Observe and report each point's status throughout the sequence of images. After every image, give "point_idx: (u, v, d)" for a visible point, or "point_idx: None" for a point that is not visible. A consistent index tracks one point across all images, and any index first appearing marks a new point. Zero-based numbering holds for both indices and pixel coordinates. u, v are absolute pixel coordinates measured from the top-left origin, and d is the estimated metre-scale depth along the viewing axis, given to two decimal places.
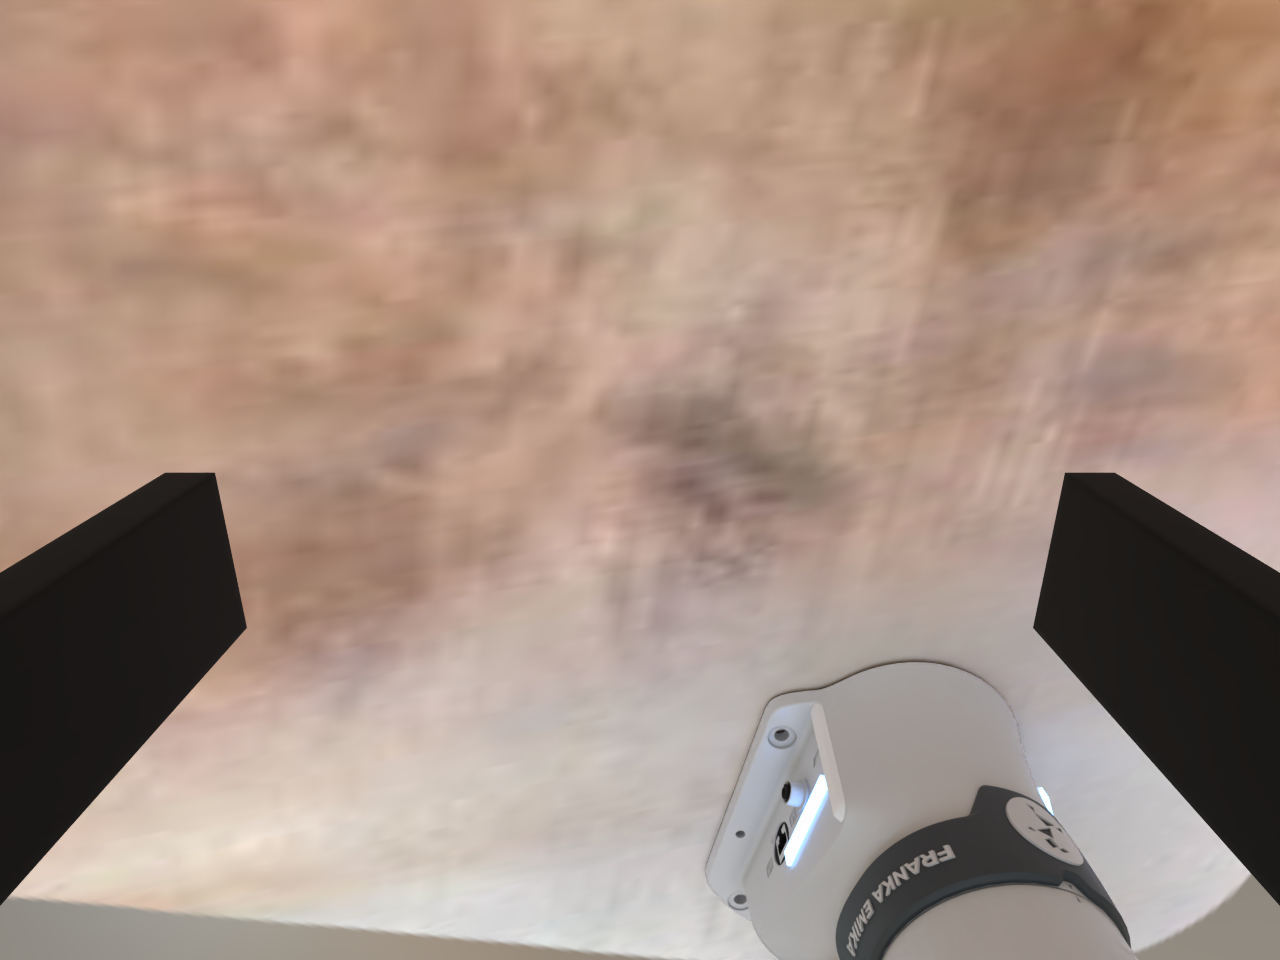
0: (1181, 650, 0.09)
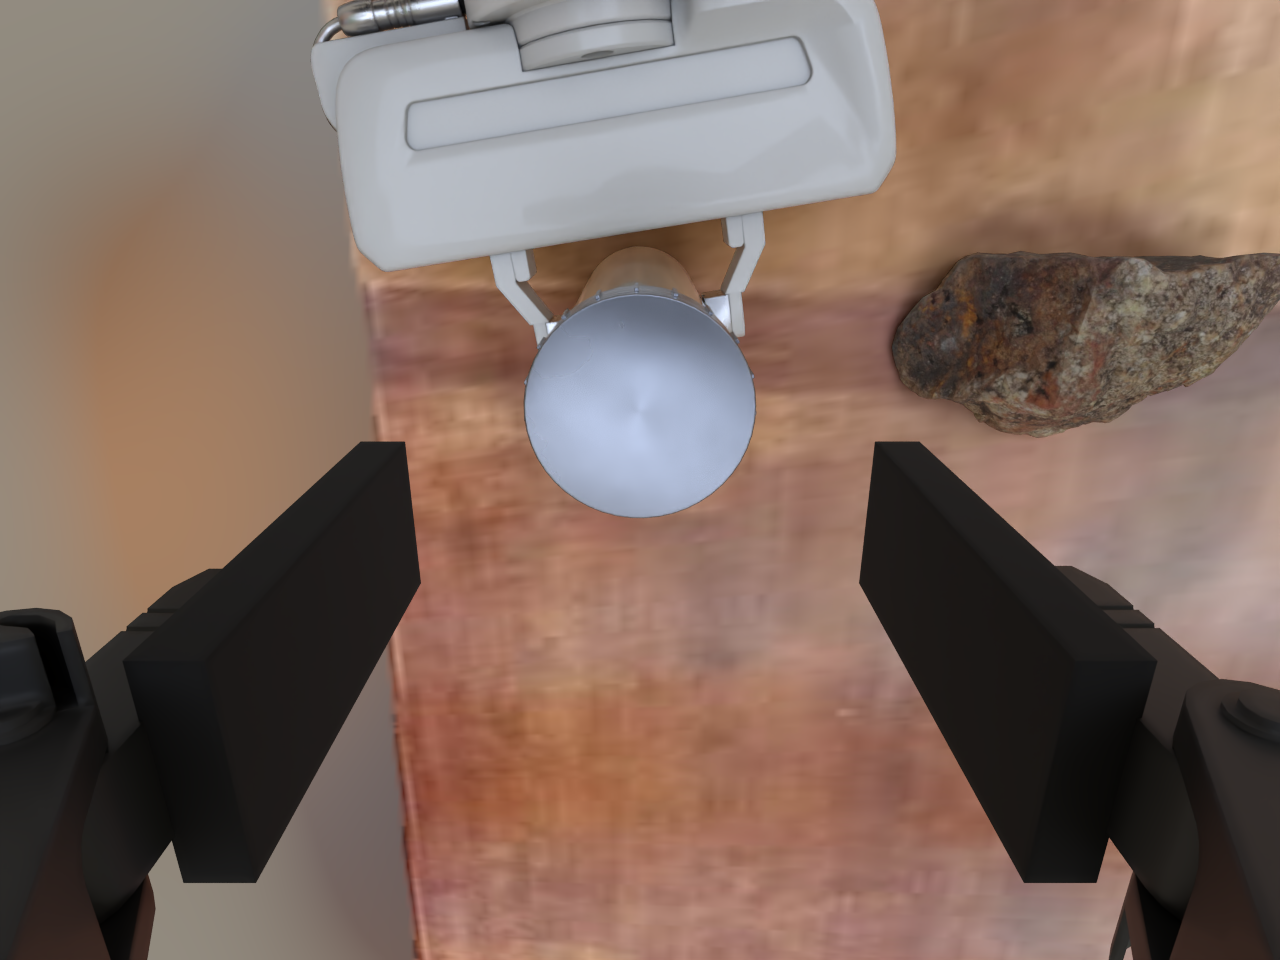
0: (930, 588, 0.11)
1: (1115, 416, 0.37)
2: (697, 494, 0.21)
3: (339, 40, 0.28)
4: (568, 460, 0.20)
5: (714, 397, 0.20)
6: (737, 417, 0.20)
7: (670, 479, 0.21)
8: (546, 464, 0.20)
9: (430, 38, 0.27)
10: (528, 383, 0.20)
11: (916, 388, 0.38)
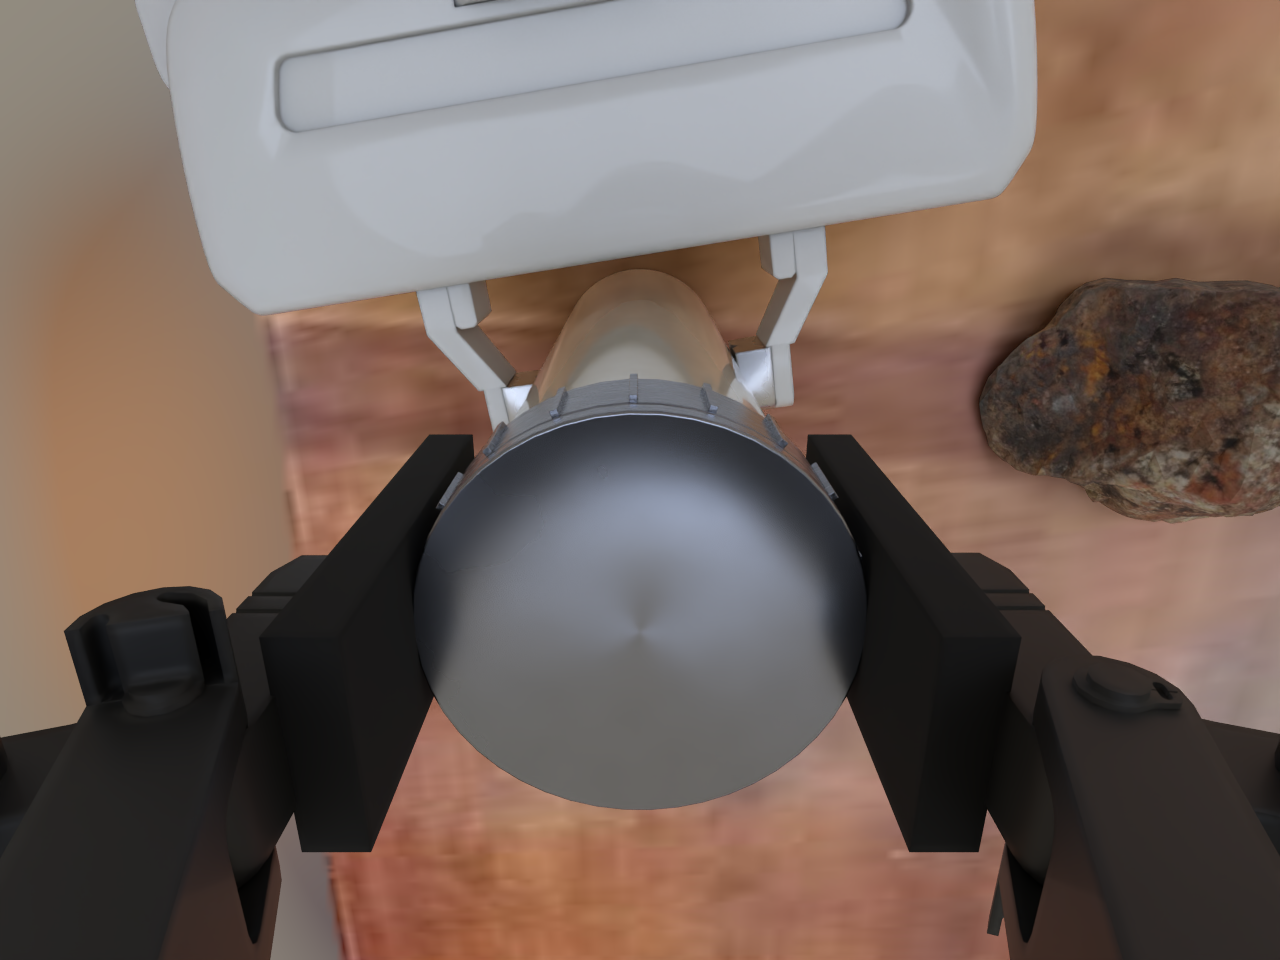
0: None
1: None
2: (749, 771, 0.11)
3: None
4: (503, 715, 0.11)
5: (787, 605, 0.10)
6: (831, 641, 0.10)
7: (698, 747, 0.11)
8: (461, 723, 0.11)
9: None
10: (417, 581, 0.10)
11: (1013, 459, 0.28)
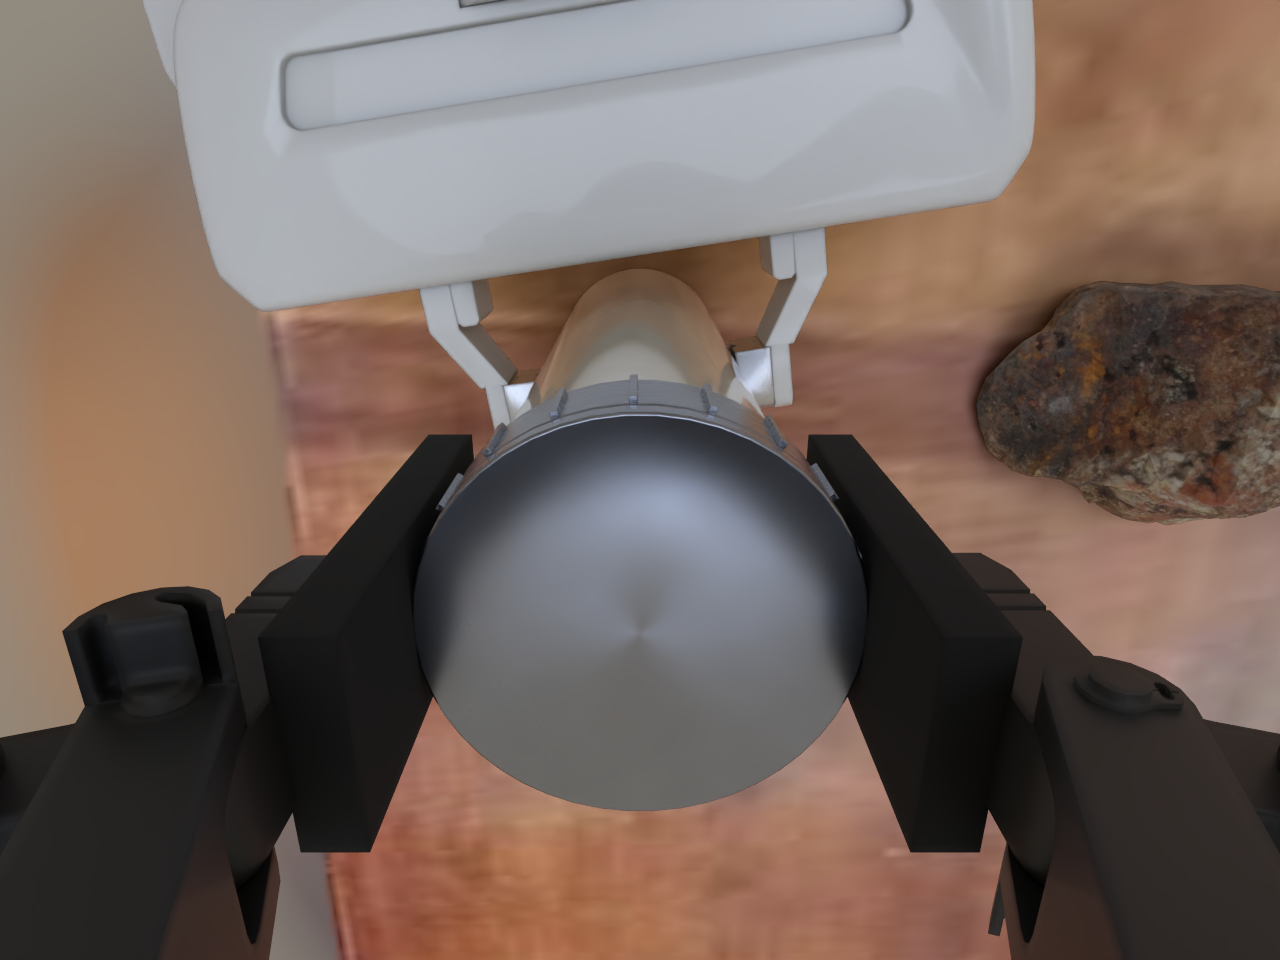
0: None
1: None
2: (845, 568, 0.10)
3: None
4: (698, 765, 0.11)
5: (647, 495, 0.09)
6: (703, 459, 0.09)
7: (794, 610, 0.10)
8: (696, 799, 0.11)
9: None
10: (540, 790, 0.11)
11: (1009, 460, 0.28)
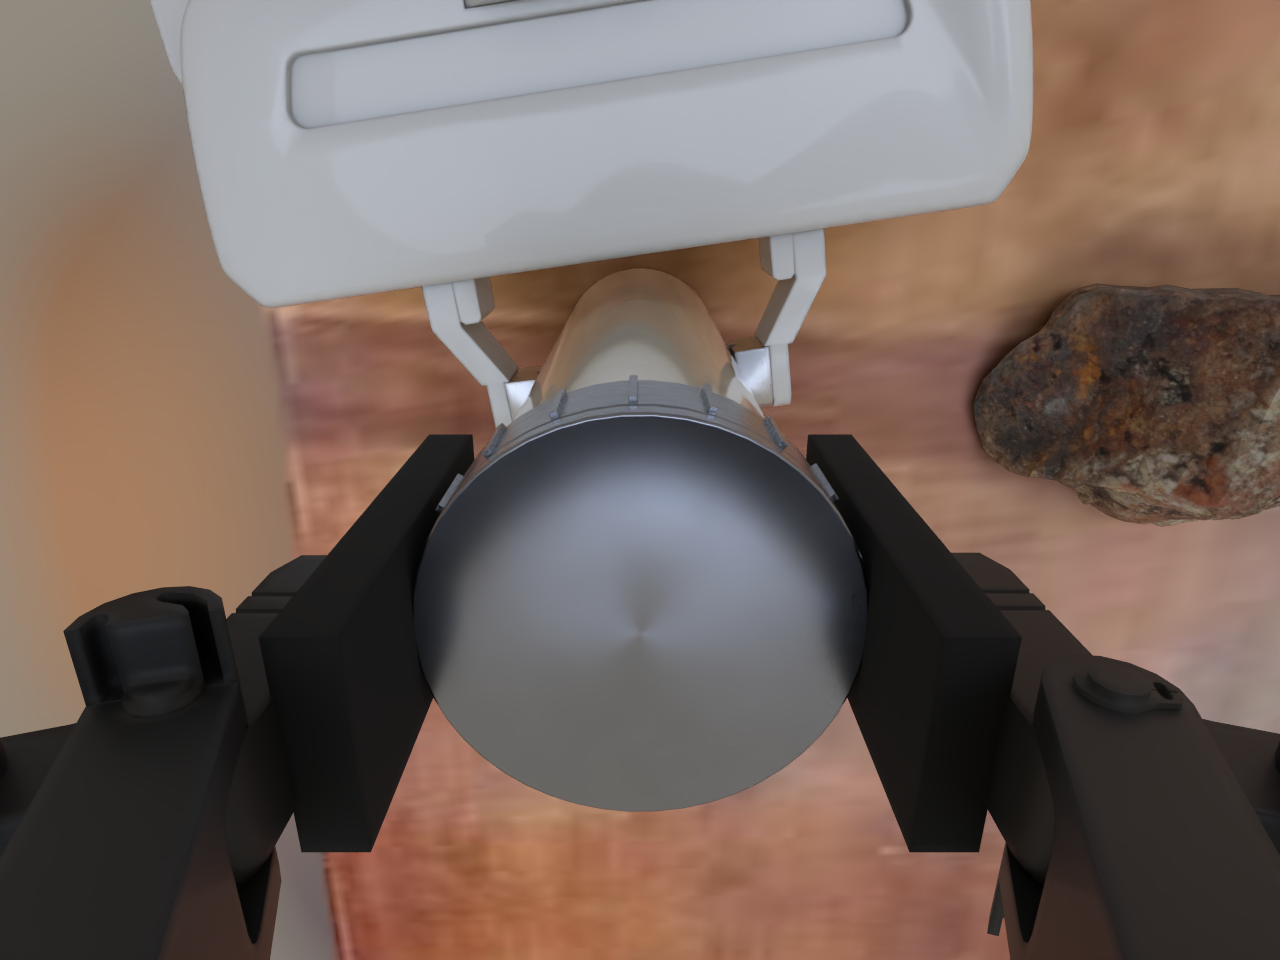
0: None
1: None
2: (616, 433, 0.09)
3: None
4: (816, 615, 0.10)
5: (495, 595, 0.10)
6: (467, 542, 0.10)
7: (653, 490, 0.09)
8: (859, 626, 0.10)
9: None
10: (793, 759, 0.11)
11: (1006, 460, 0.28)
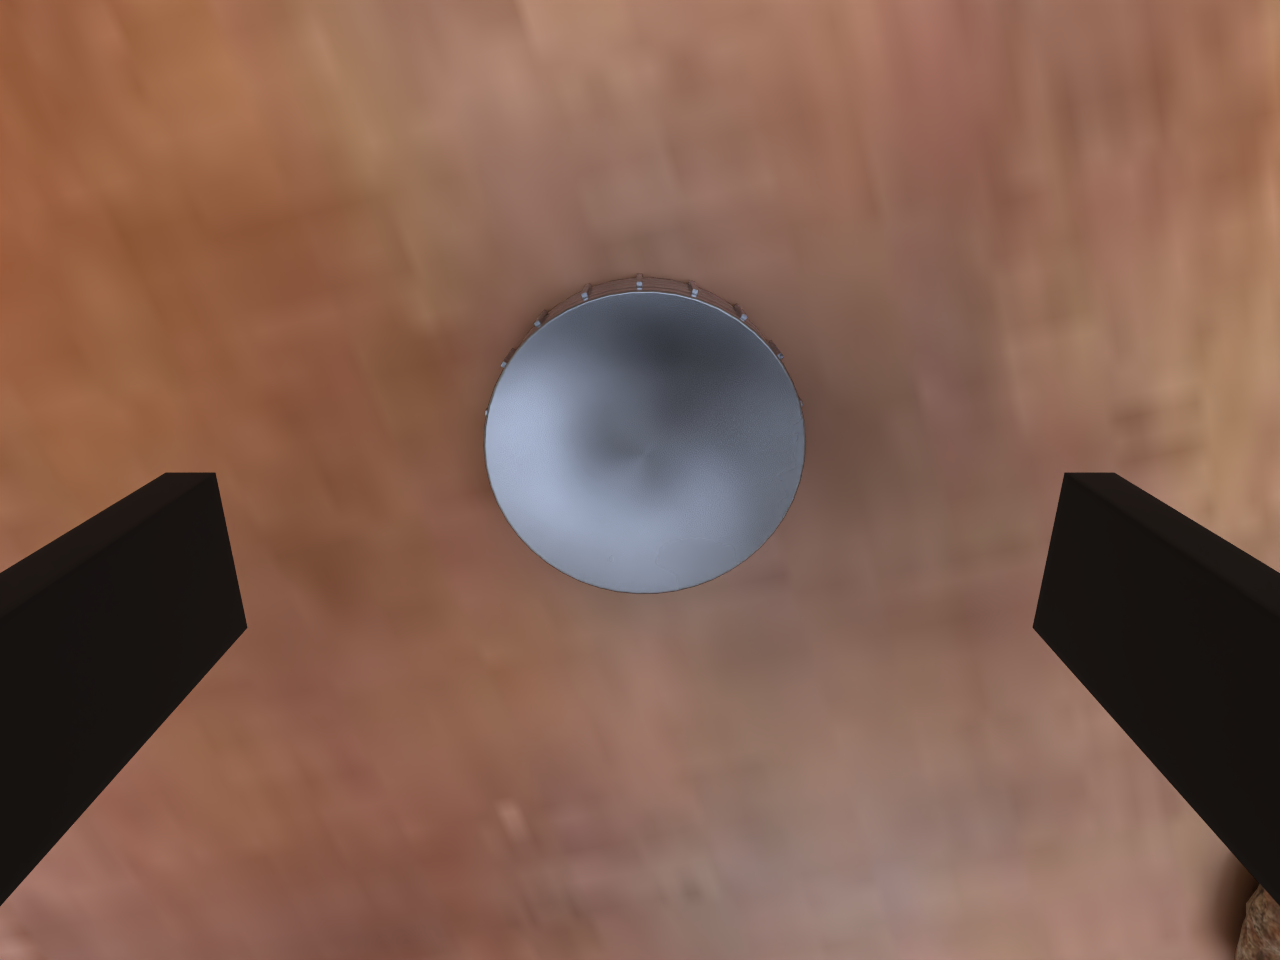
0: (1180, 650, 0.09)
1: None
2: (628, 304, 0.13)
3: None
4: (768, 440, 0.14)
5: (542, 425, 0.14)
6: (524, 385, 0.14)
7: (653, 346, 0.14)
8: (799, 448, 0.14)
9: None
10: (753, 551, 0.15)
11: None
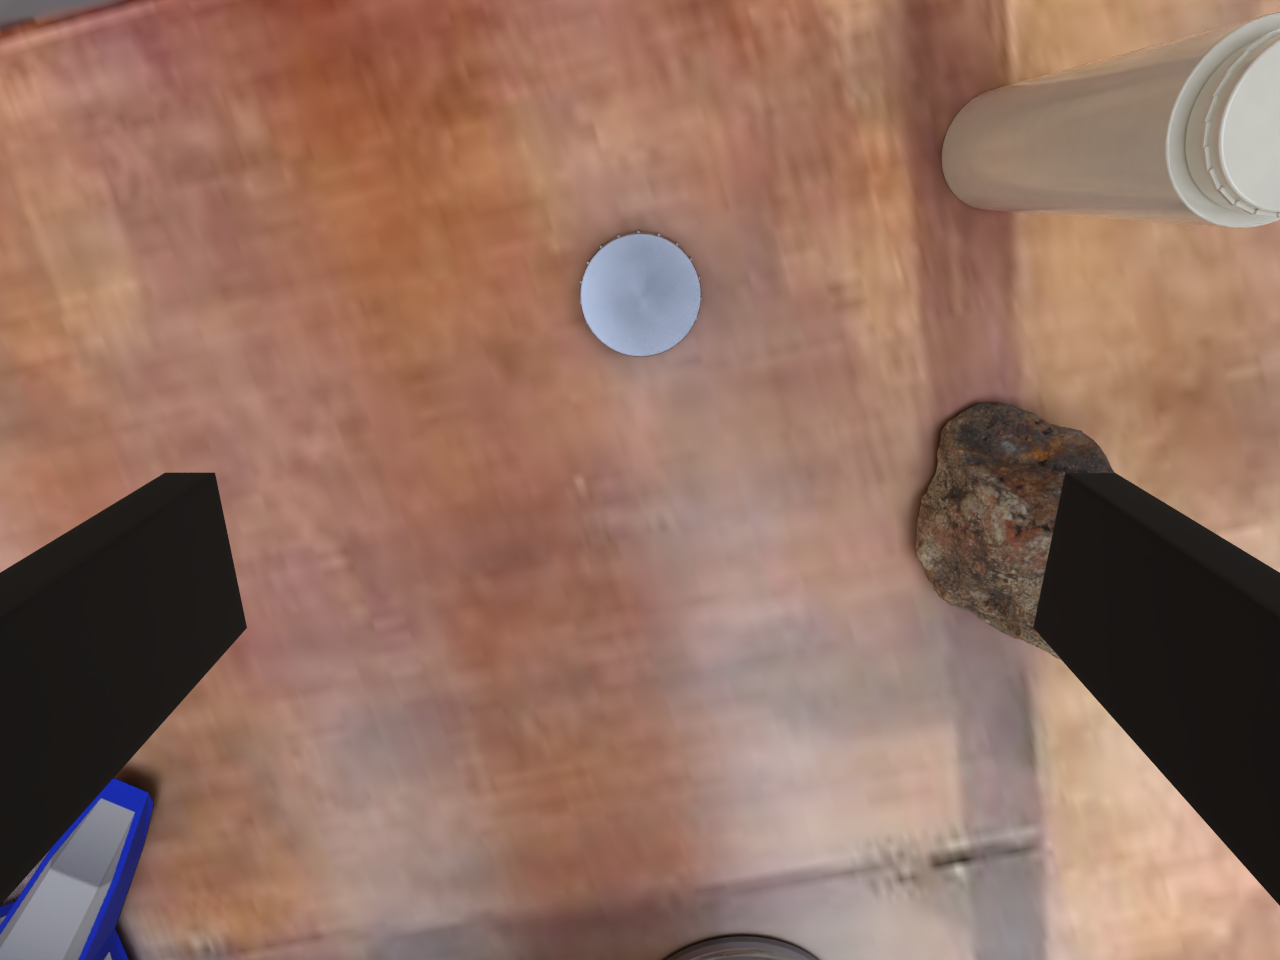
0: (1181, 650, 0.09)
1: (956, 600, 0.43)
2: (634, 238, 0.37)
3: None
4: (686, 291, 0.38)
5: (602, 285, 0.38)
6: (596, 269, 0.38)
7: (643, 254, 0.37)
8: (698, 294, 0.38)
9: None
10: (682, 337, 0.39)
11: (952, 436, 0.41)
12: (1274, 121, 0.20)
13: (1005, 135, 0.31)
